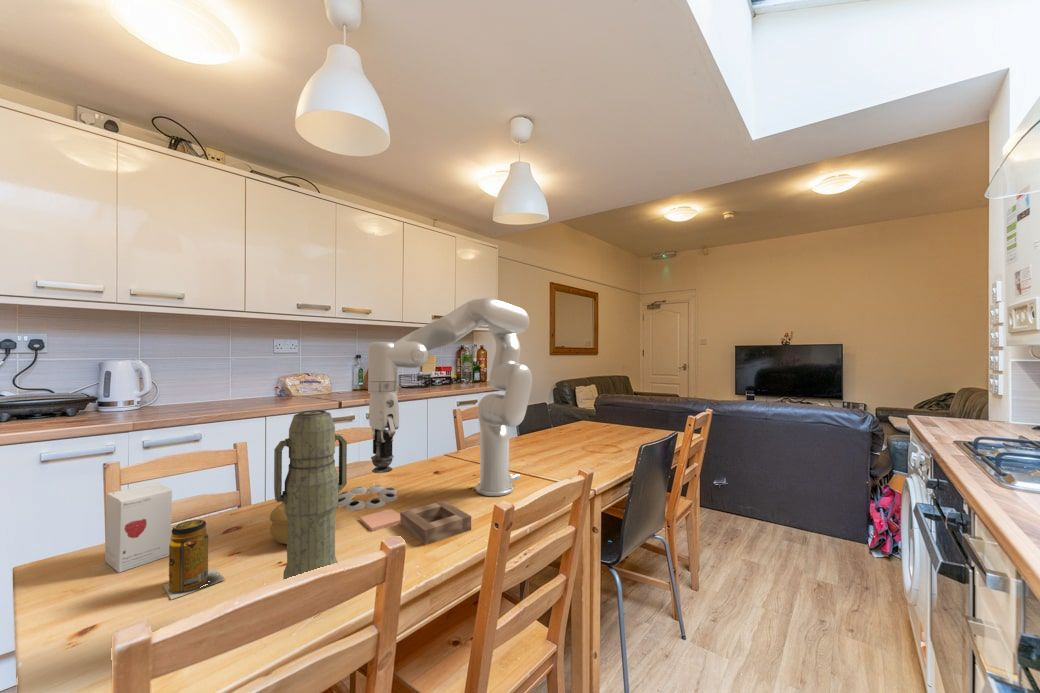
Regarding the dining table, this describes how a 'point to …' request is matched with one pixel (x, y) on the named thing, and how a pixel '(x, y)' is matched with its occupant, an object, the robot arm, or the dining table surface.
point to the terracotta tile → (380, 519)
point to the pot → (279, 524)
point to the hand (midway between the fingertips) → (382, 454)
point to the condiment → (189, 560)
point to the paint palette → (368, 504)
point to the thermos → (310, 490)
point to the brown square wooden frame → (435, 522)
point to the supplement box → (138, 526)
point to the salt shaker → (379, 462)
